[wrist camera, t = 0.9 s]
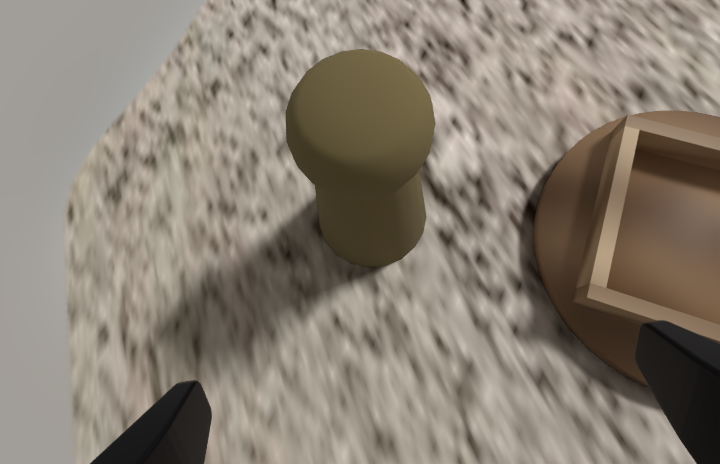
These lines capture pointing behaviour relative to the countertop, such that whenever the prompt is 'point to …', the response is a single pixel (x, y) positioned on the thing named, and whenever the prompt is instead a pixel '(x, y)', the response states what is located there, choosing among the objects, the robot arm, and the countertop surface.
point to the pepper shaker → (363, 152)
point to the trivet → (634, 232)
